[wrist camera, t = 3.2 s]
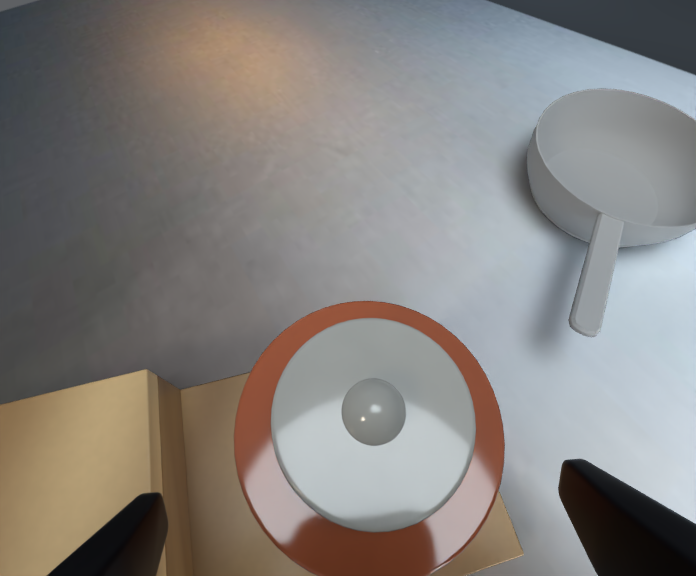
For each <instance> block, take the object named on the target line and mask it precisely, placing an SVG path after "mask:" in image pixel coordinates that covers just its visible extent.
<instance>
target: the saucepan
mask: <svg viewBox="0 0 696 576" xmlns="http://www.w3.org/2000/svg"><path fill="white" fill-rule="evenodd" d="M527 171H528V176H529V181H530V188H531V193H532V195H533V198H534V200H535V202H536V204H537V205H538V207H539V208H540V210H541V211H542V212H543V213H544V215H545V216H546V217H547V218H548V219H549V220H550V221H551V222H553V223H554V224H555V225H556V226H557V227H559V228H560V229H562V230H563V231H565V232H566V233H568V234H570V235H572V236H574V237H576V238H578V239H580V240H582V241H585V242H588V243H589V246H588V250H587V254H586V257H585V261H584V265H583V268H582V272H581V276H580V279H579V283H578V287H577V290H576V294H575V298H574V301H573V305H572V309H571V312H570V316H569V325H570V327H571V328H572V329H573V330H574V331H576V332H577V333H580V334H582V335H584V336H587V337H594V336H596V335H597V334H598V333H599V332H600V330H601V326H602V321H603V317H604V312H605V308H606V303H607V298H608V294H609V289H610V285H611V280H612V276H613V271H614V267H615V262H616V258H617V253H618V249H619V248H621V247H632V246H640V245H651V244H656V243H661V242H665V241H669V240H673V239H677V238H679V237H681V236H683V235H685V234H687V233H689V232H691V231H692V230H694V229H696V120H695V119H694V118H692V117H691V116H689V115H688V114H686V113H684V112H683V111H681V110H679V109H677V108H675V107H673V106H671V105H669V104H667V103H665V102H663V101H660V100H657V99H655V98H652V97H649V96H646V95H642V94H638V93H635V92H630V91H624V90H617V89H587V90H582V91H577V92H573V93H570V94H568V95H565V96H562V97H561V98H559V99H557V100H556V101H554V102H552V103H551V104H550V105H549V106H548V107H547V108H546V109H545V110H544V112H543V113H542V115H541V117H540V118H539V120H538V124H537V125H536V127H535V129H534V132H533V135H532V138H531V140H530V144H529V147H528V150H527Z"/></svg>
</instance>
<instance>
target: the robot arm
mask: <svg viewBox="0 0 696 576" xmlns="http://www.w3.org/2000/svg"><path fill="white" fill-rule="evenodd" d="M558 490H559V496H560V499H561V501H562V503H563V505H564V508H565V510H566V512H567V514H568V516H569V518H570V520H571V522H572V524H573V526H574V528H575V530H576V532H577V535H578V537H579V539H580V541H581V543H582V545H583V547H584V549H585V551H586V553H587V555H588V557H589V559H590V561H591V563H592V565H593V567H594V569H595V571H596V573H597V575H598V576H696V524H695V523H693V522H691V521H690V520H688V519H686V518H684V517H683V516H681V515H679V514H677V513H676V512H674V511H672V510H671V509H669V508H667V507H665V506H664V505H662V504H660V503H658V502H657V501H655V500H653V499H652V498H650V497H648V496H646V495H645V494H643V493H641V492H639V491H638V490H636V489H634V488H633V487H631V486H629V485H627V484H626V483H624V482H622V481H620V480H619V479H617V478H615V477H614V476H612V475H610V474H608V473H607V472H605V471H603V470H601V469H600V468H598V467H596V466H595V465H593V464H591V463H589V462H588V461H586V460H584V459H570V460H565V461H564V462H563V463H562V468H561V474H560V481H559V487H558ZM168 527H169V521H168V516H167V512H166V508H165V504H164V499H163V496H162V494H161V493H159V492H151V493H142V494H140V495H138V496H137V497H136V498H135V499H134V500H132V501H131V502H130V503H129V504H128V505H127V506H126V507H124V508H123V509H122V510H121V511H120V512H119V513H118V514H116V515H115V516H114V517H113V518H112V519H111V520H110V521H108V522H107V523H106V524H105V525H104V526H103V527H101V528H100V529H99V530H98V531H97V532H96V533H95V534H93V535H92V536H91V537H90V538H89V539H88V540H87V541H85V542H84V543H83V544H82V545H81V546H80V547H79V548H77V549H76V550H75V551H74V552H73V553H72V554H71V555H69V556H68V557H67V558H66V559H65V560H64V561H63V562H61V563H60V564H59V565H58V566H57V567H56V568H54V569H53V570H52V571H51V572H50V573H49V574H48V575H46V576H156V574H157V571H158V567H159V563H160V559H161V556H162V552H163V548H164V544H165V541H166V537H167V533H168Z"/></svg>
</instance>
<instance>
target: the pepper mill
mask: <svg viewBox="0 0 696 576" xmlns="http://www.w3.org/2000/svg"><path fill="white" fill-rule="evenodd" d="M504 450H505V442H504V431H503V423H502V419H501V414H500V409H499V406H498V403H497V400H496V397H495V394H494V391H493V389H492V387H491V385H490V382H489V380H488V378H487V376H486V374H485V373H484V371H483V369H482V368H481V366H480V365H479V363H478V361H477V360H476V359H475V357H474V356H473V355H472V354H471V352H470V351H469V350H468V349H467V347H466V346H465V345H464V344H463V343H462V342H461V341H460V340H459V339H458V338H457V337H456V336H455V335H453V334H452V333H451V332H450V331H448V330H447V329H446V328H445V327H443V326H442V325H440V324H439V323H437V322H436V321H434V320H432V319H431V318H429V317H427V316H425V315H423V314H421V313H419V312H417V311H414V310H412V309H409V308H406V307H403V306H400V305H395V304H390V303H385V302H376V301H354V302H347V303H340V304H336V305H333V306H329V307H325V308H323V309H320V310H318V311H315V312H313V313H311V314H309V315H307V316H305V317H303V318H302V319H300V320H298V321H296V322H295V323H294V324H292V325H291V326H290V327H288V328H287V329H285V330H284V331H283V332H282V333H281V334H280V335H279V336H278V337H277V338H276V339H274V340H273V341H272V342H271V344H270V345H269V346H268V347H267V348H266V350H265V351H264V352H263V353H262V354H261V356H260V358H259V359H258V361H257V362H256V364H255V365H254V367H253V368H252V370H251V372H250V374H249V376H248V378H247V381H246V383H245V385H244V388H243V391H242V394H241V396H240V399H239V403H238V408H237V413H236V417H235V427H234V457H235V463H236V469H237V475H238V479H239V482H240V485H241V489H242V492H243V495H244V497H245V500H246V502H247V504H248V506H249V508H250V511H251V513H252V515H253V516H254V518H255V519H256V521H257V523H258V524H259V526H260V527H261V529H262V531H263V532H264V533H265V534H266V535H267V537H268V538H269V539H270V540H271V541H272V542H273V544H274V545H275V546H276V547H277V548H278V549H279V550H280V551H281V552H283V553H284V554H285V555H286V556H287V557H288V558H289V559H290V560H292V561H293V562H295V563H296V564H298V565H299V566H301V567H302V568H304V569H305V570H307V571H308V572H310V573H312V574H315V575H317V576H429V575H431V574H432V573H434V572H436V571H437V570H439V569H441V568H442V567H444V566H446V565H447V564H449V563H450V562H451V561H452V560H453V559H454V558H456V557H457V556H458V555H459V554H460V553H462V552H463V551H464V550H465V548H466V547H467V546H468V545H469V544H470V543H471V542H472V540H473V539H474V538H475V537H476V536H477V534H478V533H479V531H480V529H481V528H482V526H483V525H484V523H485V522H486V520H487V518H488V516H489V514H490V512H491V510H492V507H493V505H494V503H495V500H496V497H497V494H498V491H499V487H500V484H501V479H502V473H503V467H504Z"/></svg>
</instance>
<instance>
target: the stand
mask: <svg viewBox="0 0 696 576" xmlns="http://www.w3.org/2000/svg"><path fill="white" fill-rule="evenodd" d="M249 374H250V372H249V373H245V374H241V375H237V376H233V377H229V378H225V379H221V380H217V381H213V382H209V383H205V384H201V385H198V386H194V387H190V388H186V389H182V390H180V389H178V388H177V387H175V386H173V385H172V384H170V383H169V382H167V381H165V380H164V379H162V378H160V377H159V376H157V375H156V374H154V373H152V372H151V371H149V370H147V369H145V370H141V371H137V372H132V373H128V374H124V375H120V376H116V377H112V378H108V379H104V380H100V381H96V382H91V383H87V384H83V385H79V386H75V387H71V388H67V389H63V390H59V391H55V392H50V393H46V394H42V395H38V396H34V397H30V398H26V399H22V400H18V401H14V402H9V403H5V404H1V405H0V576H46V575H48V574H49V573H50V572H51V571H52V570H53V569H54V568H56V567H57V566H58V565H59V564H60V563H61V562H63V561H64V560H65V559H66V558H67V557H68V556H69V555H71V554H72V553H73V552H74V551H75V550H76V549H77V548H79V547H80V546H81V545H82V544H83V543H84V542H85V541H87V540H88V539H89V538H90V537H91V536H92V535H93V534H95V533H96V532H97V531H98V530H99V529H100V528H101V527H103V526H104V525H105V524H106V523H107V522H108V521H110V520H111V519H112V518H113V517H114V516H115V515H116V514H118V513H119V512H120V511H121V510H122V509H123V508H124V507H126V506H127V505H128V504H129V503H130V502H131V501H132V500H134V499H135V498H136V497H137V496H138V495H140V494H142V493H151V492H159V493H161V494H162V496H163V499H164V504H165V508H166V512H167V516H168V521H169V527H168V533H167V537H166V541H165V544H164V548H163V552H162V556H161V559H160V563H159V567H158V571H157V574H156V576H317V575H315V574H312V573H310V572H308V571H307V570H305V569H304V568H302V567H301V566H299V565H298V564H296V563H295V562H293V561H292V560H290V559H289V558H288V557H287V556H286V555H285V554H284V553H283V552H281V551H280V550H279V549H278V548H277V547H276V546H275V545H274V544H273V542H272V541H271V540H270V539H269V538H268V537H267V535H266V534H265V533H264V532H263V531H262V529H261V527H260V526H259V524H258V523H257V521H256V519H255V518H254V516H253V515H252V513H251V511H250V508H249V506H248V504H247V502H246V500H245V497H244V495H243V492H242V489H241V485H240V482H239V479H238V475H237V469H236V463H235V457H234V427H235V417H236V413H237V408H238V403H239V399H240V396H241V394H242V391H243V388H244V385H245V383H246V381H247V378H248V376H249ZM523 555H524V553H523V550H522V548H521V545H520V543H519V540H518V538H517V535H516V532H515V530H514V527H513V525H512V522H511V520H510V517H509V515H508V512H507V510H506V507H505V505H504V502H503V500H502V497H501V495H500V492H499V491H498V494H497V497H496V500H495V503H494V505H493V507H492V510H491V512H490V514H489V516H488V518H487V520H486V522H485V523H484V525H483V526H482V528H481V529H480V531H479V533H478V534H477V536H476V537H475V538H474V539H473V540H472V542H471V543H470V544H469V545H468V546H467V547H466V548H465V550H464V551H463V552H462V553H460V554H459V555H458V556H457V557H456V558H454V559H453V560H452V561H451V562H450V563H449V564H447V565H446V566H444V567H442V568H441V569H439V570H437V571H436V572H434V573H432V574H431V575H429V576H466V575H469V574H472V573H475V572H477V571H480V570H483V569H486V568H489V567H492V566H495V565H497V564H500V563H503V562H506V561H509V560H512V559H515V558H518V557H520V556H523Z"/></svg>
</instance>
